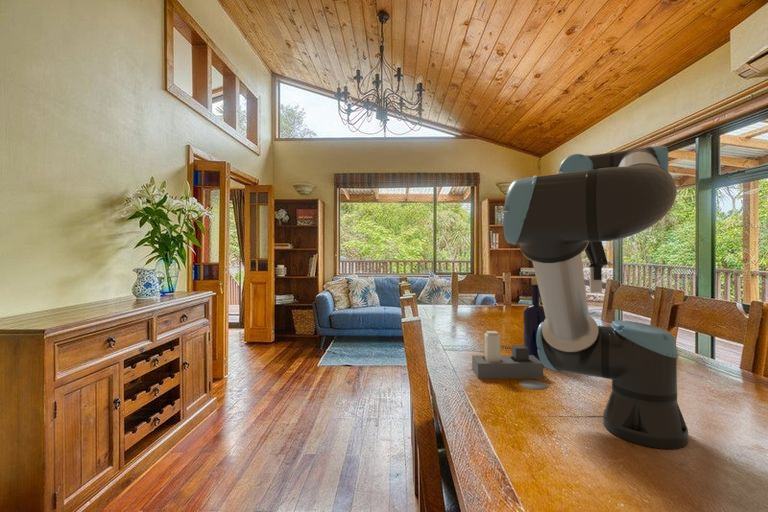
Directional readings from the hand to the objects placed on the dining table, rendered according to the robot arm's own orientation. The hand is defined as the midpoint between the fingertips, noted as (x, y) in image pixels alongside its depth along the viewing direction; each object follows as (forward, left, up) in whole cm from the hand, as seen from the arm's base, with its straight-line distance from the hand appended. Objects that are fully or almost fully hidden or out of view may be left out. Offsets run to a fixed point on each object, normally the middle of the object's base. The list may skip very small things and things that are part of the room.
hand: (582, 290), depth 102 cm
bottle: (+30, +2, -29) cm, 42 cm away
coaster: (+5, +12, -29) cm, 32 cm away
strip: (+15, +17, -29) cm, 37 cm away
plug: (+15, +21, -28) cm, 38 cm away
